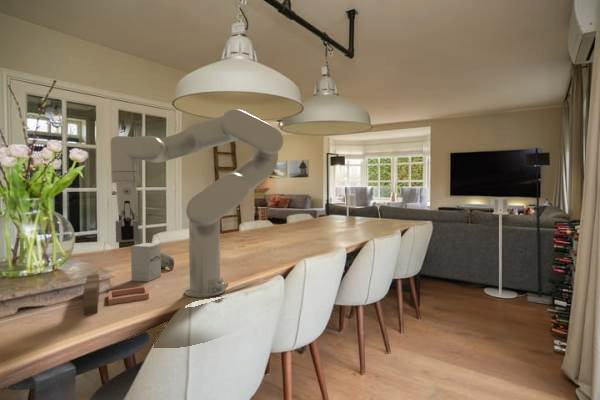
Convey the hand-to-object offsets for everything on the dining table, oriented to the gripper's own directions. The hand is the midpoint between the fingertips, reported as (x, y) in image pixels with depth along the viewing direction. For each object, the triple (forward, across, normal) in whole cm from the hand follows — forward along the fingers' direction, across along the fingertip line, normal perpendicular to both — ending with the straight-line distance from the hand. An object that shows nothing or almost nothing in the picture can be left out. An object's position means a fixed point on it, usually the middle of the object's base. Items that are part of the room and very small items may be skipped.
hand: (127, 237), depth 102 cm
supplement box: (+18, +20, -7) cm, 28 cm away
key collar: (+18, 0, 0) cm, 18 cm away
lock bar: (+1, 0, 0) cm, 1 cm away
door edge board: (+18, 0, +10) cm, 21 cm away
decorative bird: (+19, +35, -13) cm, 41 cm away
